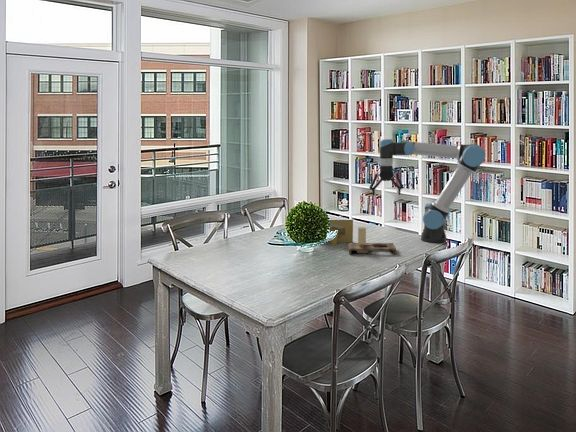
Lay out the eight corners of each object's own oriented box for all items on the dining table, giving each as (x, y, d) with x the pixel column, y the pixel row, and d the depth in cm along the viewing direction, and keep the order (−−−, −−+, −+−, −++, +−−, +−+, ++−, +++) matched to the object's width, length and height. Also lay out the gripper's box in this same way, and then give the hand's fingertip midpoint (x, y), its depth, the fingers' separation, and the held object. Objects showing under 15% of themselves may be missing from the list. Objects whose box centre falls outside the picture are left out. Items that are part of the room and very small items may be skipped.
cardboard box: (352, 241, 313) (352, 218, 309) (353, 246, 304) (353, 223, 300) (315, 241, 315) (315, 218, 311) (314, 246, 307) (314, 223, 302)
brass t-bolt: (366, 250, 292) (366, 226, 289) (367, 253, 286) (367, 229, 283) (356, 250, 292) (356, 226, 290) (357, 253, 286) (357, 229, 284)
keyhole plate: (392, 248, 294) (392, 242, 293) (395, 254, 281) (396, 248, 281) (348, 248, 296) (348, 243, 295) (349, 254, 283) (349, 248, 283)
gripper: (366, 166, 297) (366, 201, 301) (408, 165, 296) (408, 200, 300) (364, 165, 305) (364, 200, 309) (406, 164, 304) (405, 198, 308)
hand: (386, 200), depth 304 cm, fingers open, 13 cm apart
